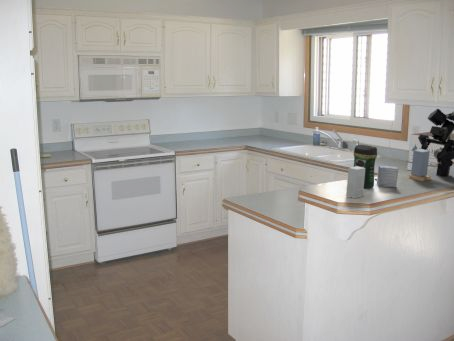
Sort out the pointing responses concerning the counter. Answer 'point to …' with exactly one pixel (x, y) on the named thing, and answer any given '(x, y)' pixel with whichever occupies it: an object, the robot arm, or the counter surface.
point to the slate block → (420, 162)
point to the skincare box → (355, 182)
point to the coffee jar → (366, 162)
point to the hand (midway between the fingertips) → (429, 155)
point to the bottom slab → (415, 179)
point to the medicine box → (387, 176)
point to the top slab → (420, 177)
